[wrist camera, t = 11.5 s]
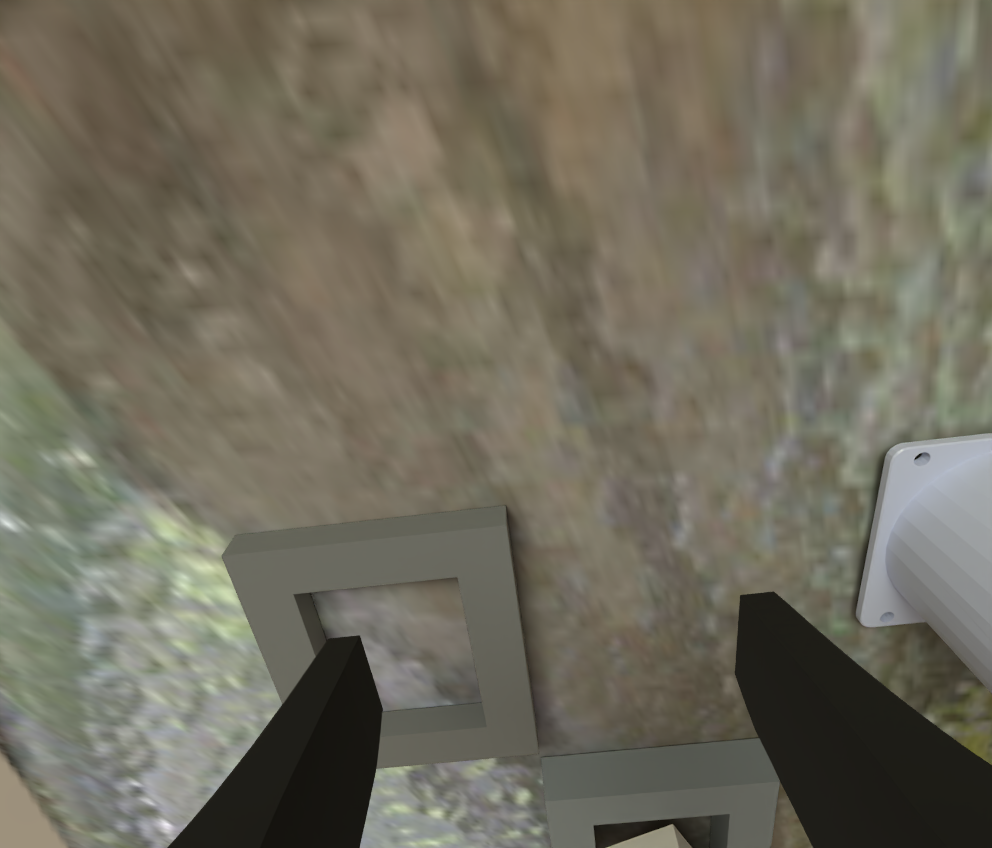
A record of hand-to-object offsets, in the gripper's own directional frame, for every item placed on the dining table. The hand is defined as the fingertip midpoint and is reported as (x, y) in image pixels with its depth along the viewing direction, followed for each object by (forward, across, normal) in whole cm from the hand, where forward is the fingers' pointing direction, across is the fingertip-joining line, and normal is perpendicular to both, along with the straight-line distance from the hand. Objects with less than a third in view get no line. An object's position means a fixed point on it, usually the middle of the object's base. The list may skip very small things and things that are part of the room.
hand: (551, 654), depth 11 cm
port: (+9, -4, +23) cm, 25 cm away
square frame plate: (+9, +6, +9) cm, 14 cm away
